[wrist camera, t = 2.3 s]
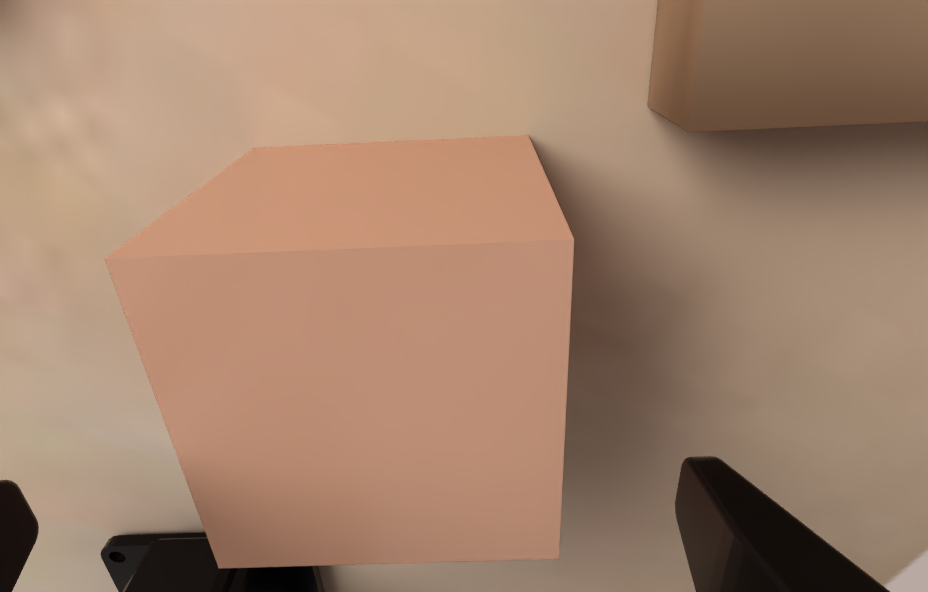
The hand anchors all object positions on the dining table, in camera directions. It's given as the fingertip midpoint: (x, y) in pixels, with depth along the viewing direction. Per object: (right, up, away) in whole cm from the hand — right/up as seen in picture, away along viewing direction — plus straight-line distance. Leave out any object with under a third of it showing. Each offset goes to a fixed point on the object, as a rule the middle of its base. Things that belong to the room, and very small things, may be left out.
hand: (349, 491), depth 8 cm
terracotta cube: (0, +3, +6) cm, 7 cm away
